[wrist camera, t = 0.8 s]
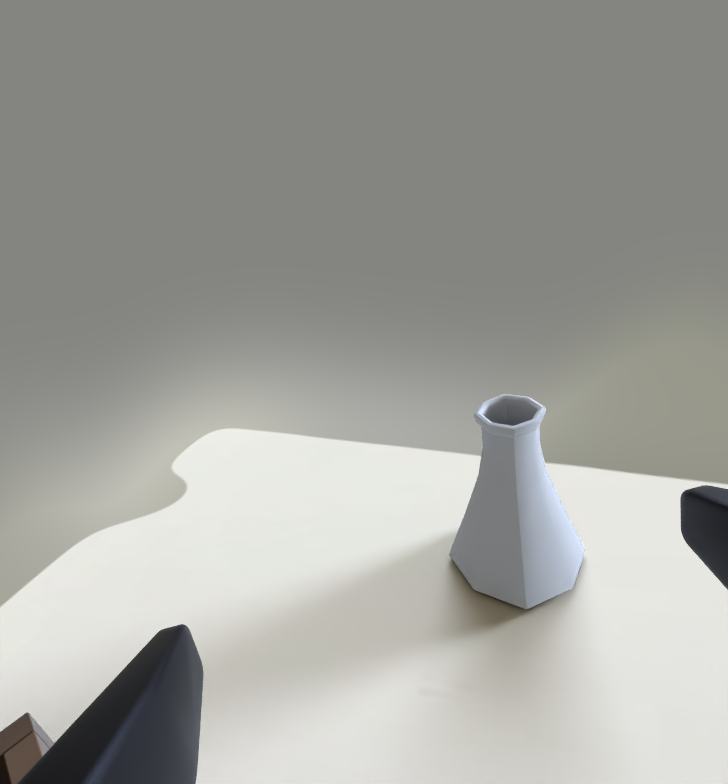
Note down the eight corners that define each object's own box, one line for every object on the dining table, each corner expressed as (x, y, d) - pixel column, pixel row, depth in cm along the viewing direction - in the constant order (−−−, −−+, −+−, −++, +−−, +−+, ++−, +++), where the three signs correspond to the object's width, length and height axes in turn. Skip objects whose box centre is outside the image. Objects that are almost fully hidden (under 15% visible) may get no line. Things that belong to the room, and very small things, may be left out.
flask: (428, 558, 30) (406, 418, 25) (504, 497, 33) (497, 365, 29) (531, 635, 24) (526, 474, 20) (609, 553, 28) (621, 400, 23)
